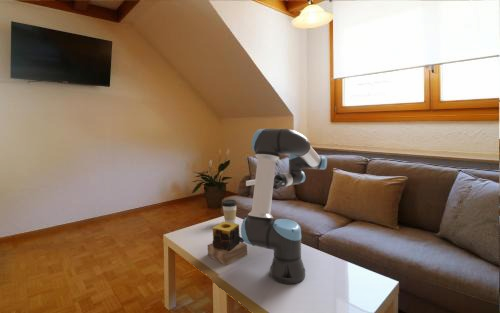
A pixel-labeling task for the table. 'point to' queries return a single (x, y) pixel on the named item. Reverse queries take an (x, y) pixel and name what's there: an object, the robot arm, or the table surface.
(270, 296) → the table surface
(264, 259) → the table surface
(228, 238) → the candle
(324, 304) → the table surface
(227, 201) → the coffee cup
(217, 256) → the wooden box
